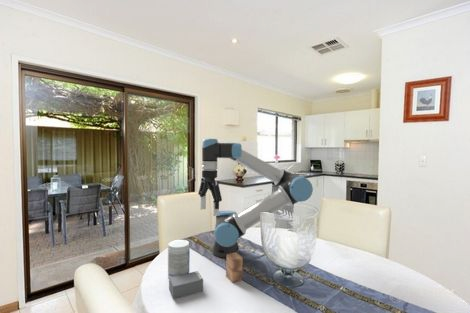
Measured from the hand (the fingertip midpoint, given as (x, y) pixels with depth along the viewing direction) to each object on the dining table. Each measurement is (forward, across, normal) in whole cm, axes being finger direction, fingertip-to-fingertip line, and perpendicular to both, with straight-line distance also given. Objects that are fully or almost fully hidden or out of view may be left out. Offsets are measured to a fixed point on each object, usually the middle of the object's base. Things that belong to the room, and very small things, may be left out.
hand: (209, 212), depth 118 cm
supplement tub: (+26, +3, -17) cm, 31 cm away
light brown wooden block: (+26, +18, +3) cm, 32 cm away
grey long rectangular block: (+26, +16, -19) cm, 35 cm away
